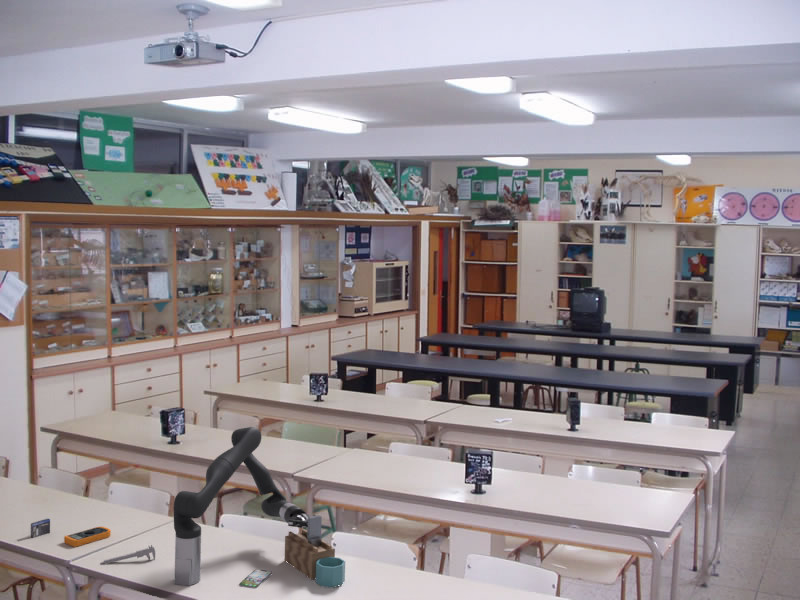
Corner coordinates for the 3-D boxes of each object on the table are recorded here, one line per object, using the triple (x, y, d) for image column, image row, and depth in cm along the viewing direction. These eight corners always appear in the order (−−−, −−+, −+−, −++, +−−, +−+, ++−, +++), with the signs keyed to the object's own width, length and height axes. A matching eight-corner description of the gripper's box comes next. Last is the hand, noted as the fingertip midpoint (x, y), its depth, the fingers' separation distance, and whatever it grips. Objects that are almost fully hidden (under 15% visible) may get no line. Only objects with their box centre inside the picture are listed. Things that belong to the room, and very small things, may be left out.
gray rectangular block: (307, 544, 310) (307, 516, 310) (318, 542, 313) (319, 514, 313) (310, 547, 308) (311, 519, 307) (322, 544, 311) (322, 517, 310)
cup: (311, 579, 302) (312, 560, 302) (334, 574, 308) (335, 555, 308) (325, 589, 294) (325, 569, 293) (348, 583, 300) (349, 563, 299)
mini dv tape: (32, 538, 336) (33, 524, 336) (30, 537, 337) (30, 523, 337) (49, 532, 343) (50, 519, 343) (47, 532, 344) (47, 518, 344)
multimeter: (113, 537, 341) (113, 529, 341) (74, 548, 327) (74, 540, 326) (100, 532, 346) (101, 524, 346) (62, 543, 332) (62, 535, 331)
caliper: (155, 559, 318) (155, 543, 317) (155, 560, 317) (155, 544, 316) (100, 563, 312) (100, 547, 311) (100, 564, 310) (100, 548, 310)
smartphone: (237, 584, 294) (255, 568, 309) (237, 587, 294) (255, 571, 309) (256, 587, 293) (273, 571, 307) (256, 590, 293) (273, 574, 307)
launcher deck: (284, 560, 320) (285, 532, 320) (306, 556, 326) (307, 528, 326) (311, 579, 302) (312, 549, 302) (334, 574, 308) (335, 544, 308)
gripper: (277, 507, 321) (298, 519, 307) (306, 502, 329) (328, 514, 315) (277, 526, 322) (297, 539, 308) (306, 520, 329) (327, 533, 315)
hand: (313, 526), depth 311 cm, fingers closed
